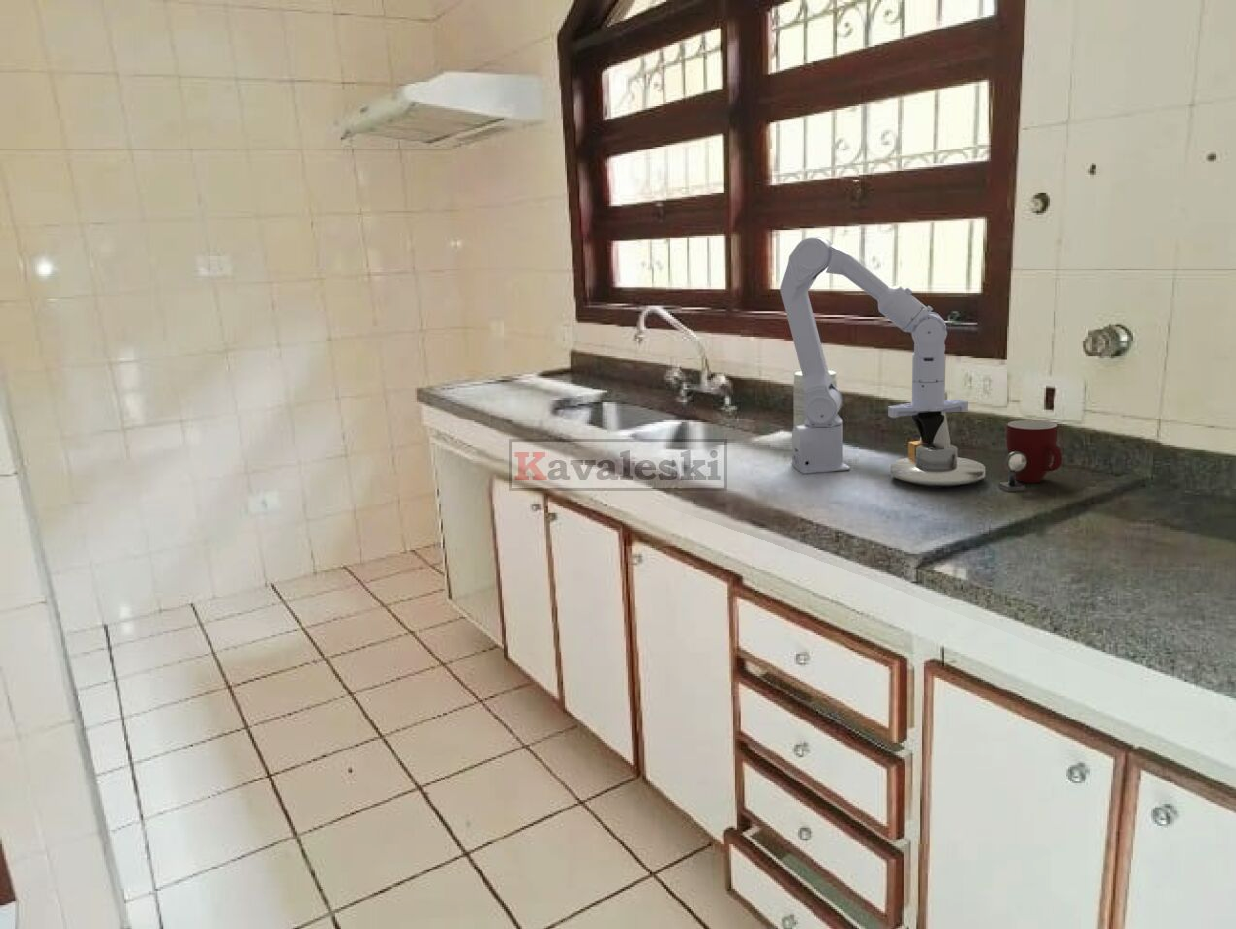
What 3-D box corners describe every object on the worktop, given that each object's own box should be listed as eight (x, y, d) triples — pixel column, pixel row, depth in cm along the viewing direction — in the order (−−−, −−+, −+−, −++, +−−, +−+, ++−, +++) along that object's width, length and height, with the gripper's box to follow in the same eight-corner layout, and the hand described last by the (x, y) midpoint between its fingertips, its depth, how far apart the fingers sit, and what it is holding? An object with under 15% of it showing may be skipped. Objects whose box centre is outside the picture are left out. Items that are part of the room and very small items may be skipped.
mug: (1077, 483, 144) (1081, 427, 142) (1045, 492, 141) (1048, 434, 138) (1025, 471, 153) (1028, 417, 151) (993, 478, 150) (996, 424, 148)
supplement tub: (809, 443, 186) (809, 377, 182) (785, 435, 194) (784, 372, 191) (845, 436, 189) (845, 372, 186) (820, 429, 198) (819, 368, 194)
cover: (928, 473, 147) (929, 453, 146) (908, 464, 154) (908, 445, 153) (965, 469, 149) (965, 449, 148) (943, 460, 155) (943, 441, 154)
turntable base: (922, 489, 147) (922, 484, 146) (898, 475, 156) (898, 470, 156) (977, 484, 147) (977, 479, 147) (950, 470, 157) (950, 465, 157)
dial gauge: (1005, 492, 142) (1007, 453, 141) (996, 487, 145) (998, 449, 143) (1026, 490, 142) (1028, 451, 141) (1016, 485, 145) (1018, 447, 144)
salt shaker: (951, 456, 166) (953, 392, 163) (921, 457, 168) (922, 393, 164) (946, 449, 172) (948, 387, 169) (917, 450, 173) (918, 388, 170)
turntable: (920, 489, 143) (921, 465, 142) (874, 467, 158) (874, 446, 157) (1004, 478, 145) (1005, 455, 144) (951, 458, 161) (952, 436, 160)
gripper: (899, 386, 150) (898, 460, 153) (977, 379, 151) (974, 452, 154) (883, 381, 157) (883, 451, 160) (958, 374, 158) (956, 444, 161)
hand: (927, 451), depth 158 cm, fingers closed
